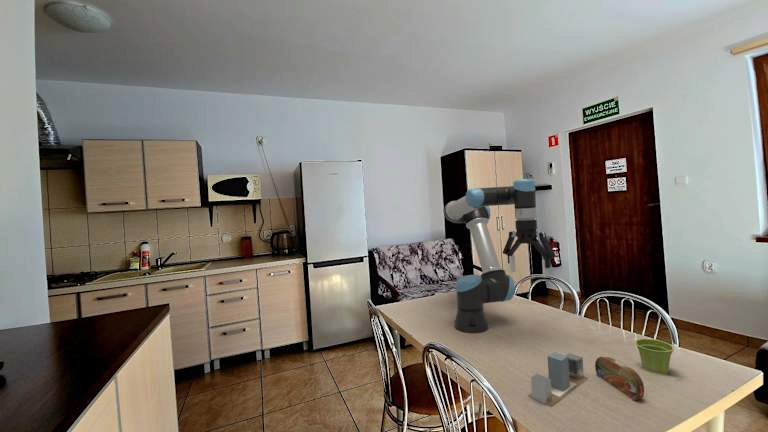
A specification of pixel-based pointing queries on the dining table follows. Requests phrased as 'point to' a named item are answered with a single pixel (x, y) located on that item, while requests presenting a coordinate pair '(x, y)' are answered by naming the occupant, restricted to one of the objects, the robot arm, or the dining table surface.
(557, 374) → the block
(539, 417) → the dining table surface
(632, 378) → the tin
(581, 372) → the far end finger
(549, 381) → the near end finger
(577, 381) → the brown flat board
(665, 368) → the plant pot
